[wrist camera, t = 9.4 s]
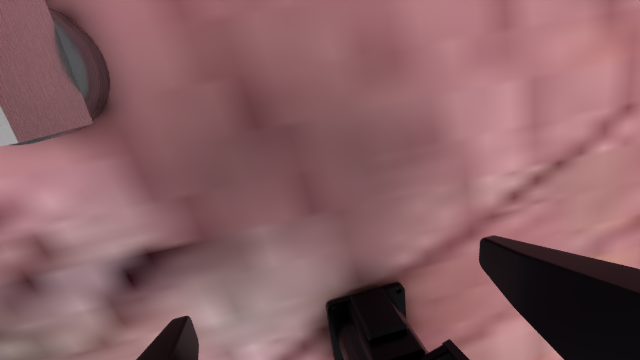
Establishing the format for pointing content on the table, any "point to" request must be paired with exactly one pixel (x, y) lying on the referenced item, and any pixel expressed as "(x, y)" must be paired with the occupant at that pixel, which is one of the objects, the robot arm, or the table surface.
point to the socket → (35, 76)
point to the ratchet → (82, 68)
